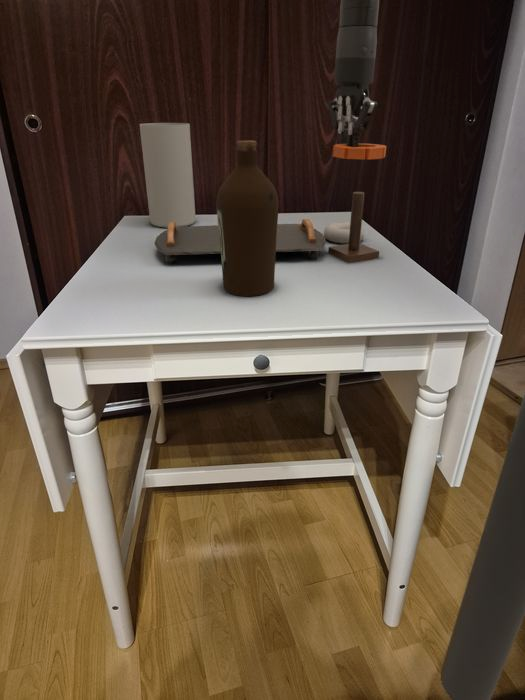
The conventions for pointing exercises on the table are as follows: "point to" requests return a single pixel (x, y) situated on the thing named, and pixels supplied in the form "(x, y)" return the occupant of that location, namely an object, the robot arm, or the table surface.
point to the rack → (354, 236)
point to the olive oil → (247, 226)
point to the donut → (339, 232)
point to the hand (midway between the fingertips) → (347, 153)
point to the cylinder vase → (168, 173)
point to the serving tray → (208, 240)
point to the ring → (359, 151)
